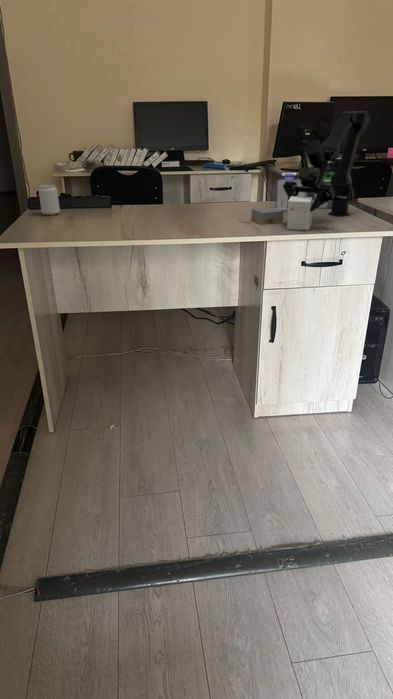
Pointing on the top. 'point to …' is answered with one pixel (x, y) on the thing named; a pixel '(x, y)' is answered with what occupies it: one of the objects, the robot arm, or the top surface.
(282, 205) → the ink cartridge box
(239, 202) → the top surface
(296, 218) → the small box
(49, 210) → the can
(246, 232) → the top surface
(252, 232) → the top surface
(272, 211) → the upper block
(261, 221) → the lower block
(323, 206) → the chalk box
